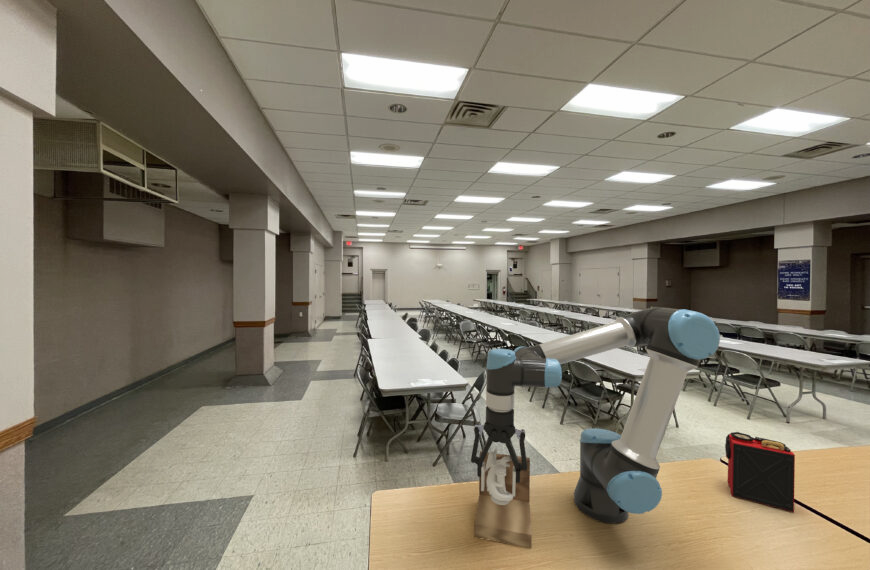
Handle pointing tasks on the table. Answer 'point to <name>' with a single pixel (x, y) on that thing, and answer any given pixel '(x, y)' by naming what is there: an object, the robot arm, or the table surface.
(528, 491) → the wall shelf
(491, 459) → the figurine
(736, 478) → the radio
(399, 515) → the table surface
